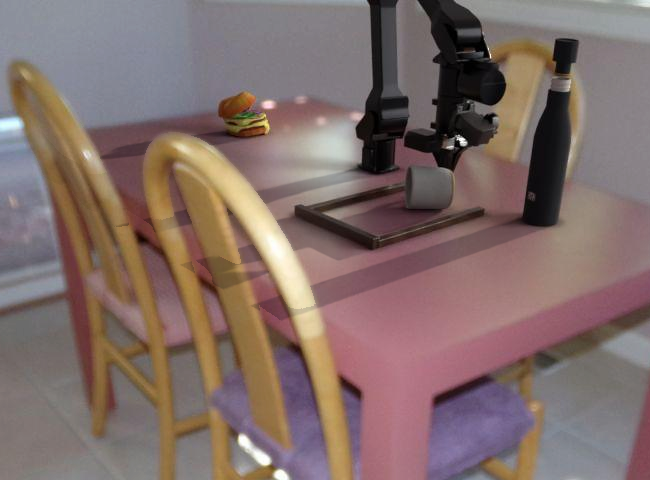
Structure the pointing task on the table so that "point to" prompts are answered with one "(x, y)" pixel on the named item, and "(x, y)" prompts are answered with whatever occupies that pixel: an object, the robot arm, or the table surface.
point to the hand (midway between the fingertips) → (446, 181)
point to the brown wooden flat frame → (368, 239)
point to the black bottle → (551, 143)
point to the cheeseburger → (242, 116)
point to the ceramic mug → (429, 187)
